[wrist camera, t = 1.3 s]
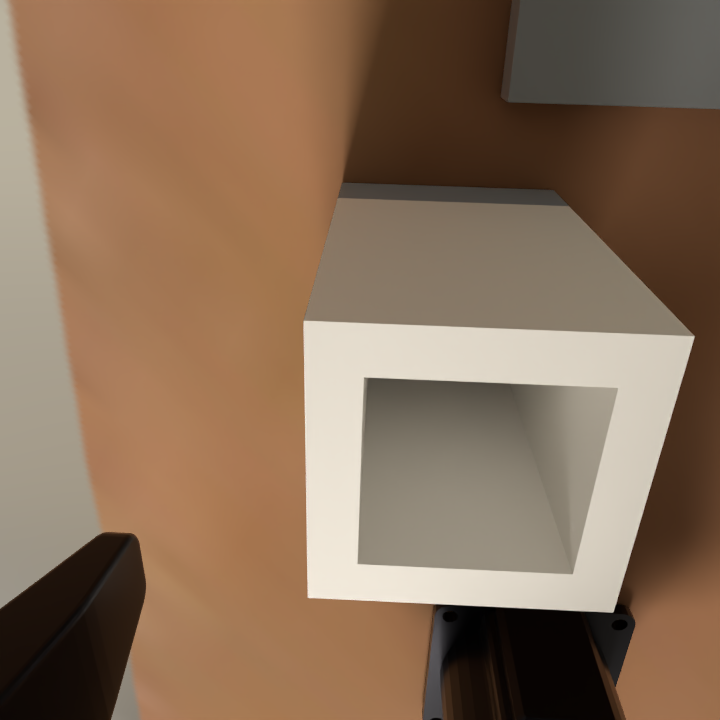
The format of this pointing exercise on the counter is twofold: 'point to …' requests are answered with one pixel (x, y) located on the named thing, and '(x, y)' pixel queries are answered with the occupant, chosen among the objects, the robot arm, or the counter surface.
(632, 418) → the sleeve
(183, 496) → the counter surface
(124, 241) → the counter surface
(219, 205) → the counter surface
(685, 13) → the pin board
